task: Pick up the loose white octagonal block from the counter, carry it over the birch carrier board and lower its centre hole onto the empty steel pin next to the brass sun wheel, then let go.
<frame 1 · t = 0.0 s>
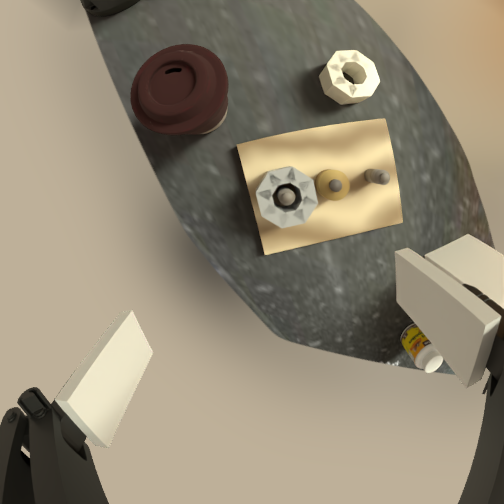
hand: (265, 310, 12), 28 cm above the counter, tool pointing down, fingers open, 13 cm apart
seated gear: (282, 192, 38), resting on carrier
supplement bottle: (410, 332, 46), on the counter
coffee cup: (202, 110, 35), on the counter
milk: (449, 272, 42), on the counter
white octagonal block: (343, 82, 33), on the counter
carrier: (326, 182, 37), on the counter
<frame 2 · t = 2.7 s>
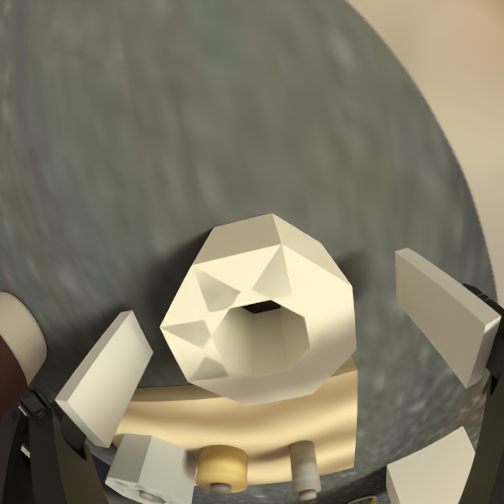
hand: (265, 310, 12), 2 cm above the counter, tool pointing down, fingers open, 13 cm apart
seated gear: (160, 442, 20), resting on carrier
supplement bottle: (360, 499, 28), on the counter
coffee cup: (21, 326, 16), on the counter
milk: (421, 460, 24), on the counter
white octagonal block: (259, 284, 14), on the counter
carrier: (225, 441, 19), on the counter
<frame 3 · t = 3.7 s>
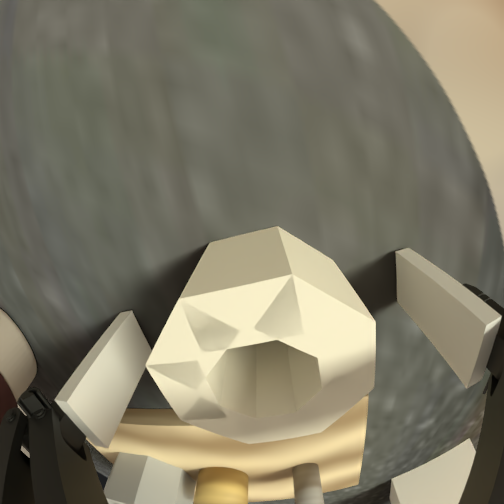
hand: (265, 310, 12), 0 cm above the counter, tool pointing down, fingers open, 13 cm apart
seated gear: (157, 460, 18), resting on carrier
coffee cup: (10, 339, 15), on the counter
milk: (426, 472, 22), on the counter
white octagonal block: (262, 306, 12), on the counter
carrier: (224, 462, 17), on the counter
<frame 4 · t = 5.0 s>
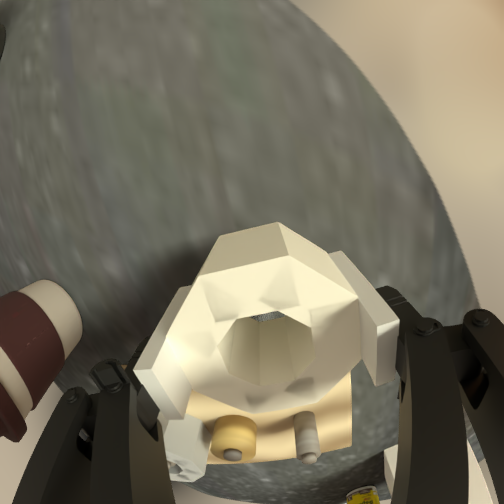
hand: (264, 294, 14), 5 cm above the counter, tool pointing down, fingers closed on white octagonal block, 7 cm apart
seated gear: (178, 418, 24), resting on carrier
supplement bottle: (360, 489, 31), on the counter
coffee cup: (58, 311, 21), on the counter
milk: (417, 449, 27), on the counter
white octagonal block: (265, 292, 14), point 5 cm above the counter, touching gripper
carrier: (236, 415, 24), on the counter
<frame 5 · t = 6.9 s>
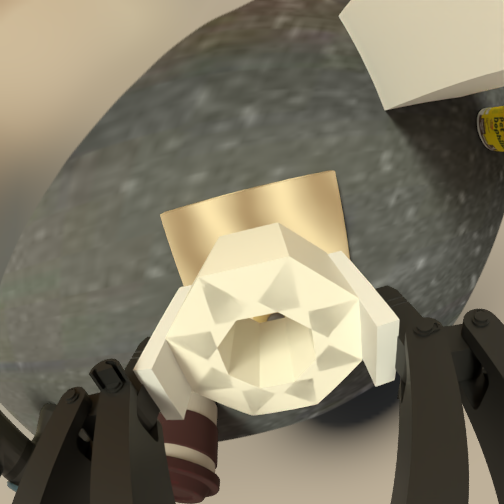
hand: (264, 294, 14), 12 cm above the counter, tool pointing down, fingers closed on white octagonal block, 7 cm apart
supplement bottle: (486, 129, 21), on the counter
coffee cup: (192, 403, 33), on the counter
milk: (405, 55, 20), on the counter
white octagonal block: (265, 293, 14), point 12 cm above the counter, touching gripper
carrier: (273, 296, 28), on the counter
when the fingers open (3 cm above the counter, at t = 9.0 s): white octagonal block stays where it is, resting on carrier.
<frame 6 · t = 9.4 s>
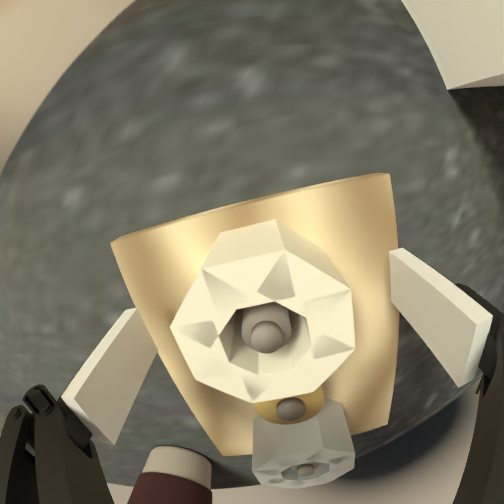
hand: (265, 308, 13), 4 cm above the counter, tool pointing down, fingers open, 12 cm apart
seated gear: (297, 409, 20), resting on carrier
coffee cup: (181, 457, 24), on the counter
milk: (461, 23, 10), on the counter
white octagonal block: (263, 287, 15), point 1 cm above the counter, touching carrier
carrier: (284, 356, 18), on the counter
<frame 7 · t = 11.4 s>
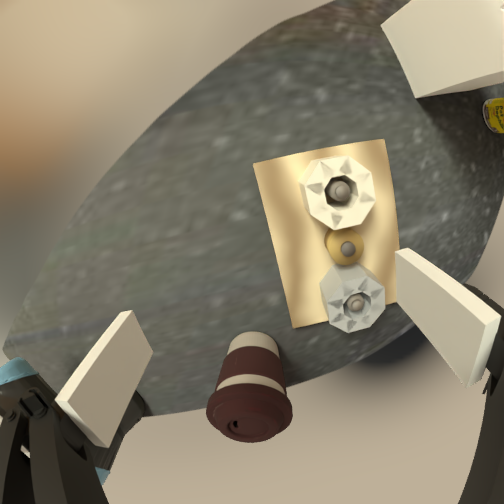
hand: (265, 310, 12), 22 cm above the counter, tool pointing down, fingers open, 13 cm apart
seated gear: (343, 281, 35), resting on carrier
supplement bottle: (490, 116, 26), on the counter
coffee cup: (253, 348, 40), on the counter
milk: (429, 57, 24), on the counter
white octagonal block: (330, 187, 30), point 1 cm above the counter, touching carrier
carrier: (337, 236, 33), on the counter
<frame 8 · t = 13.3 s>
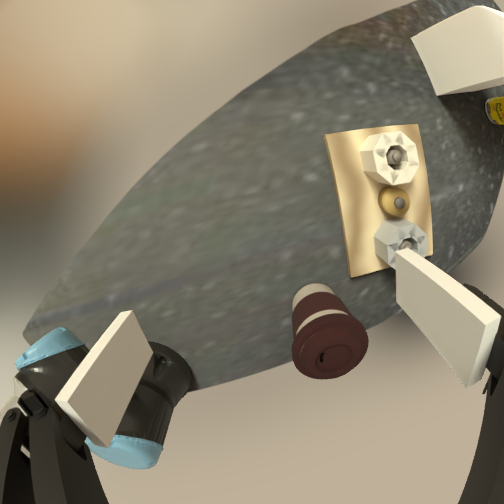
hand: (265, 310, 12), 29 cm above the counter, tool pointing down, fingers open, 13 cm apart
seated gear: (389, 237, 40), resting on carrier
supplement bottle: (491, 111, 32), on the counter
coffee cup: (313, 301, 44), on the counter
milk: (445, 64, 30), on the counter
white octagonal block: (381, 157, 35), point 1 cm above the counter, touching carrier
carrier: (384, 198, 39), on the counter
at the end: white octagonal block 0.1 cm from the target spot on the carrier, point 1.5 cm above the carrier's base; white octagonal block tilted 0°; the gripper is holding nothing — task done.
